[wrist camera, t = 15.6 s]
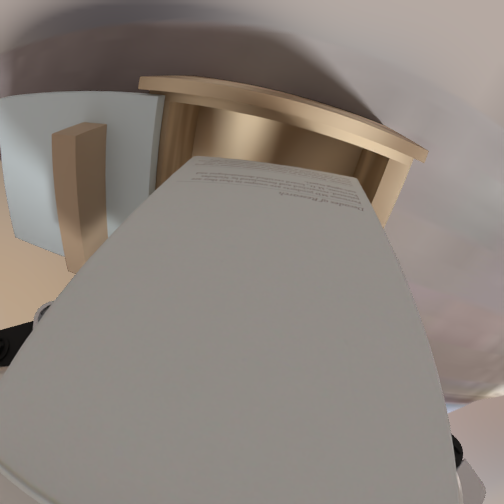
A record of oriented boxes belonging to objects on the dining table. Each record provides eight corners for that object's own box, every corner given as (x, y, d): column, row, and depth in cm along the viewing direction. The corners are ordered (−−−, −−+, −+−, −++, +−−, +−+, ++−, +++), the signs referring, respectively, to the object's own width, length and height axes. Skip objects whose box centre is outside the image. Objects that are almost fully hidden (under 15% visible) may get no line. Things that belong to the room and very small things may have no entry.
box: (384, 125, 16) (428, 151, 10) (323, 276, 23) (328, 344, 18) (192, 75, 16) (139, 76, 10) (171, 237, 23) (133, 293, 17)
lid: (165, 95, 11) (129, 102, 9) (152, 277, 18) (131, 313, 15) (7, 96, 11) (-28, 108, 9) (21, 232, 18) (-4, 254, 15)
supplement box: (191, 150, 12) (-50, 430, 1) (361, 176, 11) (478, 540, 1) (192, 281, 16) (103, 505, 6) (323, 302, 16) (319, 547, 5)
